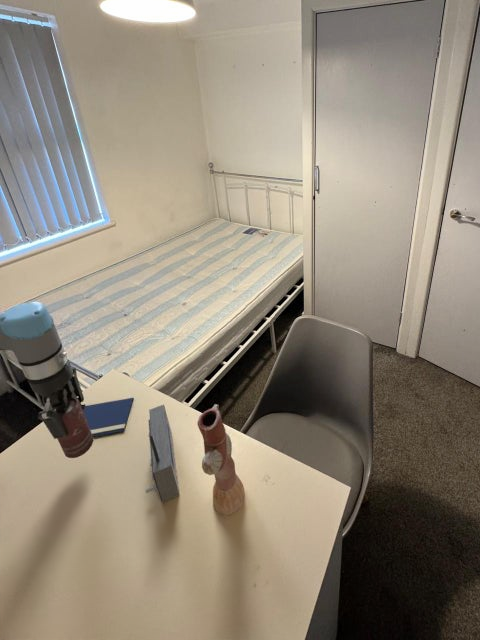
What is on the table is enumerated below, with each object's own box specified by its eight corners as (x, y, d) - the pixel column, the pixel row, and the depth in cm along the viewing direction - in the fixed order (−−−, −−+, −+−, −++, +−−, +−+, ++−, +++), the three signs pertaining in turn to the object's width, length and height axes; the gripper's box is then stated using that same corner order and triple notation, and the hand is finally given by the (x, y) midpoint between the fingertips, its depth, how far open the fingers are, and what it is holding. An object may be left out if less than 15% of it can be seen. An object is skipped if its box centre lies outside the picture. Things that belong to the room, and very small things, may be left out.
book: (68, 442, 87) (67, 440, 87) (84, 407, 97) (83, 405, 97) (124, 431, 90) (123, 429, 90) (133, 398, 100) (133, 396, 99)
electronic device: (180, 494, 76) (165, 440, 68) (149, 509, 73) (129, 454, 65) (171, 431, 90) (158, 379, 82) (145, 441, 87) (129, 389, 79)
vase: (225, 472, 80) (211, 387, 68) (251, 484, 78) (242, 398, 65) (199, 520, 71) (178, 432, 59) (227, 535, 69) (211, 446, 56)
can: (89, 429, 83) (73, 391, 77) (97, 446, 79) (81, 406, 74) (61, 446, 79) (42, 407, 73) (69, 465, 75) (50, 424, 69)
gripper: (49, 395, 63) (83, 468, 73) (81, 340, 78) (106, 406, 88) (6, 403, 62) (46, 475, 72) (46, 344, 76) (75, 412, 86)
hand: (79, 437), depth 80 cm, fingers open, 3 cm apart
